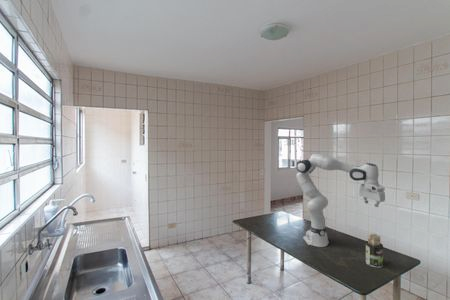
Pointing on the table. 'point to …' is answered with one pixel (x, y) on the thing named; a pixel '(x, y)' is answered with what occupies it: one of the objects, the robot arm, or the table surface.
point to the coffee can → (374, 255)
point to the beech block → (374, 239)
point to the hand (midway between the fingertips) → (371, 204)
